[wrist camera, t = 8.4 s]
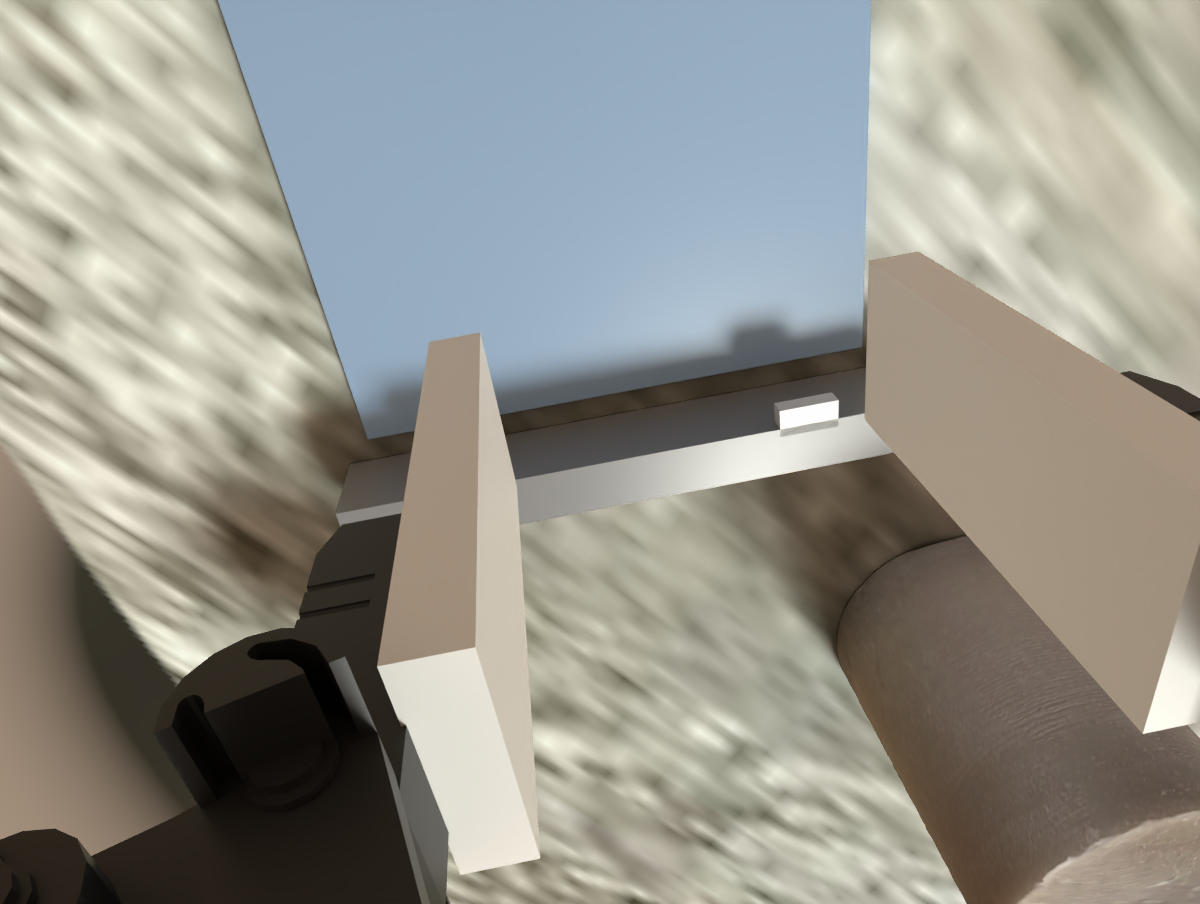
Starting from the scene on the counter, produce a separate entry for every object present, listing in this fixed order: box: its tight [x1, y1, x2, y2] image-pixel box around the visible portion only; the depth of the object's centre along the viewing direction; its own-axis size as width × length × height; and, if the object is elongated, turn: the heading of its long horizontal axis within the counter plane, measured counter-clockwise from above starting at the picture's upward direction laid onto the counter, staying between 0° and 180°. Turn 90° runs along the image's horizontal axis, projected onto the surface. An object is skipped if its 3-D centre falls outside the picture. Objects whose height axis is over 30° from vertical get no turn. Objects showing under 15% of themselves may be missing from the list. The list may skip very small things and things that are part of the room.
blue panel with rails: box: [218, 0, 894, 526], centre depth 24 cm, size 21×20×3 cm
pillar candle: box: [837, 536, 1200, 904], centre depth 30 cm, size 10×10×15 cm
